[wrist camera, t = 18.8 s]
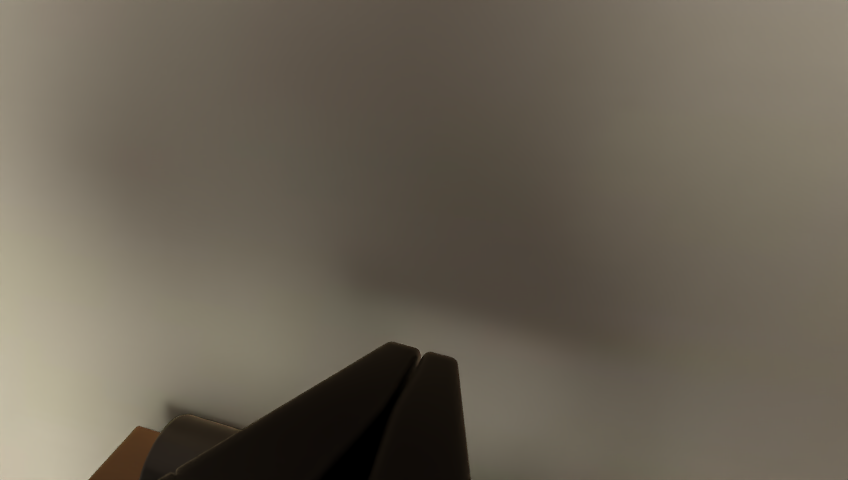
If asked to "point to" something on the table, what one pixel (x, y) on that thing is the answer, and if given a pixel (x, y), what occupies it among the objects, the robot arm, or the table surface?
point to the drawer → (162, 449)
